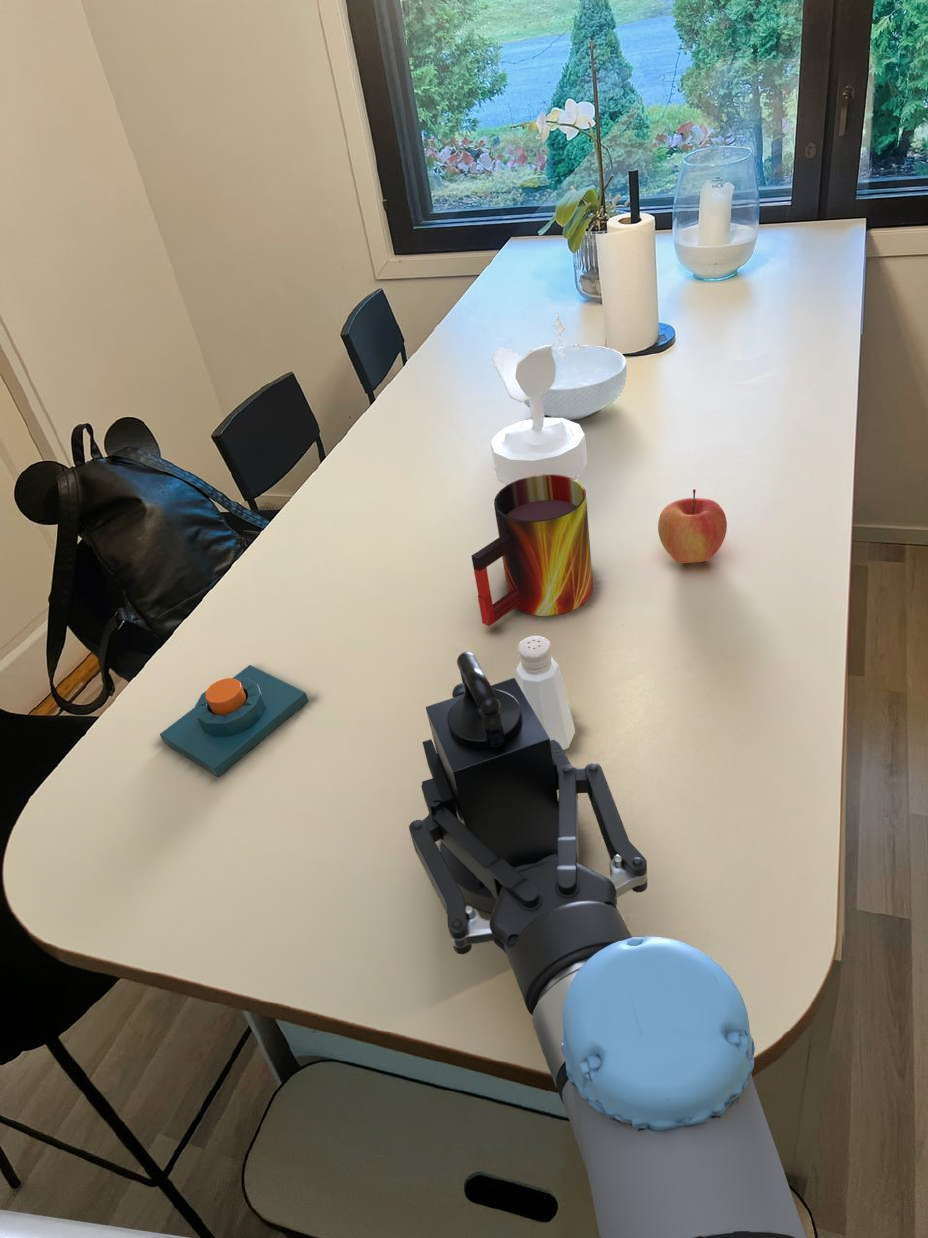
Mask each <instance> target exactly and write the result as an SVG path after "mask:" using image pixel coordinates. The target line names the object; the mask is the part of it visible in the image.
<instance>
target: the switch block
mask: <svg viewBox="0 0 928 1238" xmlns="http://www.w3.org/2000/svg"><path fill="white" fill-rule="evenodd" d="M232 678H234V679H237V680H238V681H239V682H240V683H241V685H242V688H243V690H244V692H245V695H246V702H245V704H244V705H243V706H242V707H240V708H239V709H238V710H237V711H234V712H232V713H229V714H226V715H217V714H215V713H213V712H212V710H211V708H210V706H209V704H208V702H207V699H206V696H205V695H206V691H207V690H205V691H204V692H202V693H201V694H200V696H199V698H198V700H197V702H196V703H195V705H194V707H193V708H192V709H190V710H189V711H188V712H187V713H185V714H184V715H182V716H181V717H180V718H179V719H177V720H176V721H174V722H173V723H172V724H171V725H170V726H168V727H167V728H165V730H163V731H162V732H161V733H159V736H160V739H161V740H162V742H163V743H164V744H166V745H167V746H169V747H170V748H171V749H173V750H174V751H176V752H178V753H180V754H181V755H182V756H184V757H186V758H188V759H190V760H191V761H192V762H194V763H196V764H197V765H199V766H200V767H202V768H203V769H205V770H207V772H209V773H211V774H212V775H214V776H216V777H218V778H219V777H220V776H221V775H223V774H224V773H225V772H226V771H227V770H228V769H229V768H230V767H232V766H233V765H234V764H235V763H237V762H238V761H239V760H240V759H241V758H243V757H244V756H245V755H246V754H247V753H248V752H249V751H251V750H252V749H254V748H255V747H256V746H257V745H258V744H259V743H261V741H263V740H264V739H266V738H267V737H268V736H269V735H270V734H271V733H272V732H274V730H276V729H277V728H278V727H279V726H280V725H282V724H283V723H284V722H285V721H286V720H287V719H289V718H290V717H292V716H293V715H294V714H295V713H296V712H297V711H298V710H300V709H301V708H302V707H303V706H304V705H305V704H307V703H308V702H309V697H308V696H307V693H306V692H305V691H303V690H301V689H300V688H297V687H295V686H294V685H291V684H290V683H288V682H285V681H284V680H282V679H280V678H277V677H275V676H274V675H272V674H270V673H267V672H266V671H263V670H261V669H259V668H257V667H255V666H253V665H251V664H249V665H247V666H246V667H245V668H244V669H242V670H241V671H239V673H237V674H236V675H234V676H232Z"/></svg>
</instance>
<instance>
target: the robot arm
mask: <svg viewBox="0 0 928 1238" xmlns="http://www.w3.org/2000/svg"><path fill="white" fill-rule="evenodd" d="M550 744H551V751H552V759H553V766H554V774H555V781H556V789H557V791H558V801H559V823H558V857H557V855H556V854H554V855H551V856H548V857H545V858H543V859H542V860H540V861H538V862H537V863H535V864H526V865H521V866H518V867H515V868H513V867H512V866H511V865H510V864H509V863H508V862H507V861H506V860H505V859H504V858H502V857H500V858H499V857H497V856H496V855H495V854H494V853H493V852H492V851H491V850H490V849H489V848H488V847H487V846H486V845H485V844H484V843H483V842H482V841H481V840H480V839H479V838H477V837H476V836H475V835H474V834H473V833H472V832H471V831H470V830H469V829H468V828H467V827H466V826H465V825H464V824H463V823H462V822H461V821H460V820H459V819H458V816H457V811H456V807H455V802H454V798H453V795H452V793H451V790H450V787H449V785H448V782H447V779H446V777H445V774H444V771H443V769H442V766H441V763H440V761H439V758H438V756H437V752H436V748H435V744H434V741H433V738H430V739H427V740H423V741H422V747H423V750H424V751H423V752H424V754H425V759H426V764H427V767H428V769H429V772H430V775H431V777H432V778H429V779H426V780H423V781H421V786H420V787H421V790H422V791H421V792H422V795H423V798H424V799H423V800H424V802H425V805H426V807H427V812H428V814H427V816H426V817H425V818H424V819H415V820H413V821H411V822H410V823H409V825H408V830H409V834H410V837H411V842H412V844H413V847H414V851H415V853H416V855H417V857H418V859H419V861H420V863H421V865H422V867H423V869H424V871H425V874H426V875H427V878H428V879H429V881H430V884H431V885H432V887H433V889H434V892H435V893H436V896H437V897H438V899H439V901H440V903H441V906H442V908H443V909H444V911H445V913H446V916H447V928H448V933H449V936H450V939H451V944H452V947H453V950H454V952H455V953H456V954H458V955H465V954H468V953H469V952H470V951H471V950H472V949H473V948H472V947H473V945H477V944H482V943H484V944H485V943H490V942H494V944H495V945H496V947H498V948H499V949H500V950H502V951H503V952H504V953H505V955H506V956H507V959H508V961H509V964H510V966H511V969H512V972H513V974H514V977H515V981H516V983H517V986H518V988H519V991H520V994H521V996H522V1000H523V1002H524V1004H525V1007H526V1010H527V1011H528V1013H529V1014H530V1015H531V1016H532V1018H531V1021H532V1025H533V1029H534V1032H535V1035H536V1038H537V1040H538V1042H539V1045H540V1048H541V1051H542V1053H543V1056H544V1059H545V1061H546V1065H547V1067H548V1070H549V1073H550V1076H551V1078H552V1081H553V1083H554V1086H555V1088H556V1089H557V1092H558V1095H559V1098H560V1100H561V1102H562V1104H563V1106H564V1109H565V1112H566V1114H567V1118H568V1120H569V1123H570V1126H571V1129H572V1132H573V1135H574V1138H575V1141H576V1144H577V1146H578V1149H579V1153H580V1155H581V1159H582V1161H583V1164H584V1167H585V1170H586V1174H587V1176H588V1177H587V1178H588V1183H589V1187H590V1188H589V1189H590V1193H591V1198H592V1203H593V1209H594V1214H595V1220H596V1225H597V1228H598V1229H597V1230H598V1235H599V1238H807V1235H806V1231H805V1230H804V1226H803V1223H802V1220H801V1217H800V1215H799V1212H798V1208H797V1205H796V1203H795V1200H794V1196H793V1194H792V1191H791V1187H790V1185H789V1183H788V1179H787V1176H786V1174H785V1170H784V1167H783V1164H782V1162H781V1159H780V1155H779V1153H778V1150H777V1146H776V1144H775V1141H774V1138H773V1136H772V1135H773V1134H772V1132H771V1130H770V1127H769V1124H768V1121H767V1118H766V1115H765V1112H764V1110H763V1106H762V1104H761V1100H760V1097H759V1095H758V1092H757V1089H756V1086H755V1083H754V1078H753V1075H752V1072H753V1070H754V1067H755V1058H754V1056H755V1050H756V1047H755V1046H756V1045H755V1042H754V1038H753V1036H752V1034H751V1030H750V1029H751V1028H750V1021H749V1015H748V1009H747V1006H746V1003H745V1001H744V998H743V996H742V994H741V992H740V990H739V988H738V987H737V985H736V984H735V982H734V980H733V979H732V977H731V976H730V974H728V972H727V971H725V969H724V968H723V967H722V966H721V965H720V964H719V963H718V962H716V961H715V960H714V959H713V958H712V957H711V956H709V955H708V954H706V953H705V952H704V951H702V950H700V949H698V948H696V947H694V946H692V945H690V944H688V943H685V942H683V941H680V940H677V939H673V938H669V937H668V938H667V937H663V936H639V937H637V936H635V937H634V936H632V934H631V933H630V931H629V929H628V927H627V924H626V922H625V920H624V919H623V917H622V915H621V913H620V911H619V910H618V907H617V906H618V905H617V904H618V898H619V897H621V896H622V895H624V894H627V892H629V891H633V892H634V893H643V892H645V891H646V890H647V888H648V861H647V859H646V857H644V855H643V854H642V853H641V852H640V851H639V850H638V849H637V848H636V847H635V846H634V844H633V843H632V842H631V841H630V840H629V837H628V834H627V831H626V828H625V827H624V826H625V825H624V824H623V821H622V818H621V815H620V813H619V810H618V808H617V805H616V802H615V800H614V797H613V795H612V792H611V789H610V787H609V783H608V781H607V778H606V776H605V773H604V771H603V768H602V766H601V764H599V763H598V762H597V763H596V762H590V763H588V764H587V765H586V766H585V767H577V766H576V767H575V766H573V764H572V763H571V762H570V760H569V758H568V756H567V755H566V753H565V750H563V749H562V747H561V745H560V744H559V742H557V741H556V740H555V739H554V740H551V741H550ZM579 794H587V796H588V800H589V802H590V804H591V808H592V810H593V813H594V816H595V819H596V822H597V825H598V828H599V830H600V833H601V836H602V839H603V842H604V846H605V848H606V850H607V854H608V857H609V859H610V861H609V865H608V866H609V874H610V876H609V877H607V876H604V875H602V874H600V873H599V872H597V871H595V870H593V869H591V868H588V867H586V866H585V865H583V864H581V863H580V859H579V860H578V844H579V806H578V805H579V802H578V800H579ZM438 841H440V843H441V842H442V843H443V844H444V845H445V846H446V847H447V848H448V849H449V850H450V851H451V852H452V853H453V854H454V855H455V856H456V857H457V858H458V859H459V860H460V861H461V862H462V863H463V864H464V865H465V866H466V867H467V868H468V869H469V870H470V871H471V872H472V873H473V874H474V875H475V876H476V877H477V878H478V879H479V880H480V881H481V882H482V883H483V884H484V885H485V886H486V887H487V888H488V889H489V890H490V891H491V893H492V895H493V896H494V898H495V899H496V900H497V902H496V905H495V907H494V910H493V913H491V916H490V919H486V918H483V917H482V916H481V915H480V912H479V909H477V908H476V907H473V906H471V905H466V902H465V901H464V898H463V894H462V892H461V890H460V888H459V886H458V884H457V882H456V881H455V879H454V877H453V875H452V873H451V871H450V869H449V867H448V865H447V864H446V862H445V860H444V858H443V856H442V854H441V852H440V847H439V846H438V844H437V842H438ZM0 1238H189V1237H187V1236H181V1235H175V1234H166V1233H160V1232H153V1231H148V1230H147V1231H146V1230H142V1229H141V1230H140V1229H139V1230H138V1229H133V1228H126V1227H120V1226H115V1225H114V1226H113V1225H107V1224H99V1223H94V1222H88V1221H87V1222H86V1221H79V1220H73V1219H68V1218H67V1219H66V1218H60V1217H53V1216H45V1215H40V1214H39V1215H38V1214H33V1213H27V1212H21V1211H19V1212H18V1211H13V1210H6V1209H0Z"/></svg>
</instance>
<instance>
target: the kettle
mask: <svg viewBox="0 0 928 1238" xmlns="http://www.w3.org/2000/svg"><path fill="white" fill-rule="evenodd" d="M456 665H457V667H458V669H459V672H460V677H461V683H457V684H456V685H455V686H454V687H453V690H452V692H451V693H452V694H451V696H452V698H449V699H446V700H443V701H439V702H437V703H433V704H431V705H427V706H425V711H426V715H427V718H428V723H429V727H430V731H431V736H432V740H433V744H434V747H435V750H436V752H437V756H438V758H439V761H440V763H441V766H442V769H443V771H444V774H445V777H446V779H447V782H448V785H449V787H450V790H451V793H452V795H453V798H454V802H455V807H456V811H457V816H458V819H459V820H460V821H461V822H462V823H463V824H464V825H465V826H466V827H467V828H468V829H469V830H470V831H471V832H472V833H473V834H474V835H475V836H476V837H477V838H479V839H480V840H481V841H482V842H483V843H484V844H485V845H486V846H487V847H488V848H489V849H490V850H491V851H492V852H493V853H494V854H495V855H496V856H497V857H499V858H500V857H502V858H504V859H505V860H506V861H507V862H508V863H509V864H510V865H511V866H512V867H513V868H515V867H518V866H521V865H526V864H535V863H537V862H538V861H540V860H542V859H543V858H545V857H548V856H551V855H554V854H556V855H557V857H558V823H559V804H558V801H559V795H558V790H557V789H556V781H555V774H554V766H553V759H552V751H551V744H550V738H549V736H548V735H547V733H546V731H545V729H544V728H543V726H542V724H541V722H540V721H539V719H538V717H537V715H536V714H535V712H534V710H533V709H532V707H531V705H530V703H529V702H528V700H527V698H526V696H525V695H524V693H523V691H522V689H521V688H520V686H519V684H518V682H517V681H516V677H512V678H509V679H506V680H503V681H500V682H497V683H494V684H491V683H490V681H489V679H488V678H487V676H486V674H485V672H484V670H483V668H482V667H481V664H480V663H479V660H478V659H477V657H476V655H474V653H472V652H470V651H465V652H462V653H460V654H459V655H458V657H457V659H456ZM476 878H477V877H476ZM477 881H478V884H479V886H480V888H482V887H485V885H484V884H483V883H482V882H481V881H480V880H479V879H478V878H477Z"/></svg>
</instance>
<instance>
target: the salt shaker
mask: <svg viewBox="0 0 928 1238" xmlns="http://www.w3.org/2000/svg"><path fill="white" fill-rule="evenodd" d="M551 649H552V645H551V641H550V640H549V639H548V638H546V637H544V636H541V635H531V636H528V637H525V638H523V639H522V640H521V641H520V642H519V643H518V645H517V652H518V654H519V660H520V661H519V663H518V665H517V667H516V669H515V679H516V681H517V682H518V684H519V686H520V688H521V689H522V691H523V693H524V695H525V696H526V698H527V700H528V702H529V703H530V705H531V707H532V709H533V710H534V712H535V714H536V715H537V717H538V719H539V721H540V722H541V724H542V726H543V728H544V729H545V731H546V733H547V735H548V736H549V738H550V741H551V740H554V739H555V740H556V741H557V742H559V744H560V745H561V747H562V749H563V751H566V750H568V749H570V746H571V744H572V741H573V739H574V736H575V734H576V731H577V730H576V727H575V724H574V720H573V716H572V711H571V708H570V704H569V700H568V695H567V691H566V688H565V684H564V680H563V677H562V673H561V670H560V667H559V664H558V663H557V662H556V660H555V659H554V658H553V657H552V652H551Z"/></svg>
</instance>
